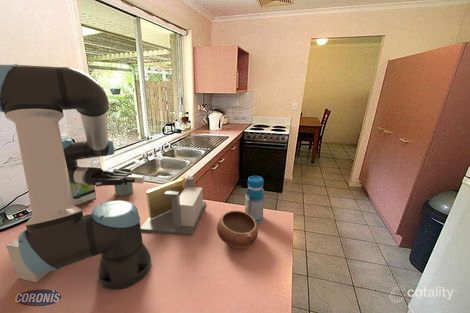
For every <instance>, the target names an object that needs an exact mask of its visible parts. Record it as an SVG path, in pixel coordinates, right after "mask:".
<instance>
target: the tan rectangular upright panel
mask: <svg viewBox="0 0 470 313" xmlns="http://www.w3.org/2000/svg"><path fill="white" fill-rule="evenodd" d="M186 178H187V177H181V178H179V179H175V180H172V181H169V182H168V183H164V184H162V185H160V186H157V187H154V188H151V189H148V190H147V191H145V192H146V199H147V200H146V201H147V208H148V214H149V216H148V218H149V217H150V219H153V218H155V217H157V216H159V215H162V214H164V213H166V212H168V211H170V210H172V201H171V198H165V197H164V193H165V192H166V191H176V192H179V196H180V194H181V193H182V192H183V190H184V189H185V187H186Z"/></svg>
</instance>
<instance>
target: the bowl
mask: <svg viewBox="0 0 470 313" xmlns="http://www.w3.org/2000/svg"><path fill="white" fill-rule="evenodd" d="M258 229H259V228H258V223H256V221H255V219H254V218H253V217H252V216H251V215H249V214H248V213H245V211H241V210H231V211H226V212H225V213H223V214H222V216H221V217H220V218H219V220H218V222H217V225H216V232H217V235H218V237H219V239H220V240H221V241H222V242H224V243H225V244H226V245H228V246H229V247H233V248H235V249H244V248H248V247H250V246H252V244H254V243H255V242H256V241H257V239H258V234H259V230H258Z"/></svg>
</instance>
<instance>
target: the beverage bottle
mask: <svg viewBox="0 0 470 313" xmlns="http://www.w3.org/2000/svg"><path fill="white" fill-rule="evenodd" d="M264 183H265V182H264V178H263V177H262V176H259V175H251V176H248V179H247V186H248V187H246V190H245V197H244V200H245V202H244V204H245V206H244V212H245V213H248V214H249V215H251V216H252V217H253V218H254V219H255V221H256V223H257V224H259V223H261V222H263V221H262V220H263V218H264V217H263V216H264V215H263V214H264V203H265V190H264Z"/></svg>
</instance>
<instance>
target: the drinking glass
mask: <svg viewBox="0 0 470 313" xmlns="http://www.w3.org/2000/svg"><path fill="white" fill-rule="evenodd" d="M117 170H120V171H125V172H130V173H131V175H133V170H132V169H131V168H118V169H117ZM113 186H114V191H115V192H114V193H115V194H116V195H117V196H126V195H129V193H130V194H132V192H133V191H134V188H133V183H129V182H127V185H125V183H123V185H113Z"/></svg>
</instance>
